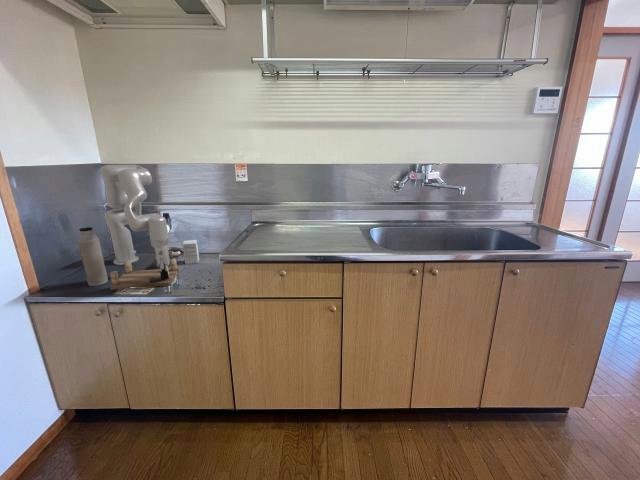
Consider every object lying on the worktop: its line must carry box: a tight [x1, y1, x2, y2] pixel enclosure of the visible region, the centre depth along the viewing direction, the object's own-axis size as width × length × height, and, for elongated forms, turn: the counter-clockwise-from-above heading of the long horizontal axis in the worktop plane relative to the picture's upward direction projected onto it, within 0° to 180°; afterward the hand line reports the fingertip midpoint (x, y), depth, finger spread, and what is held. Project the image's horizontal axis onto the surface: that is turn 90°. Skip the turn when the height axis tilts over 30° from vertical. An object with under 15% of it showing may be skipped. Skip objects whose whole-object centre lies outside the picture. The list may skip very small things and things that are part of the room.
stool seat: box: [109, 258, 181, 291], centre depth 144 cm, size 18×26×8 cm
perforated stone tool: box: [153, 249, 174, 268], centre depth 165 cm, size 15×5×7 cm, turn 170°
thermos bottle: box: [77, 226, 109, 287], centre depth 138 cm, size 8×8×28 cm
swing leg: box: [149, 265, 170, 282], centre depth 139 cm, size 9×3×6 cm, turn 126°
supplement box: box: [182, 239, 200, 265], centre depth 168 cm, size 7×7×13 cm
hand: (165, 276), depth 141 cm, fingers open, 3 cm apart
